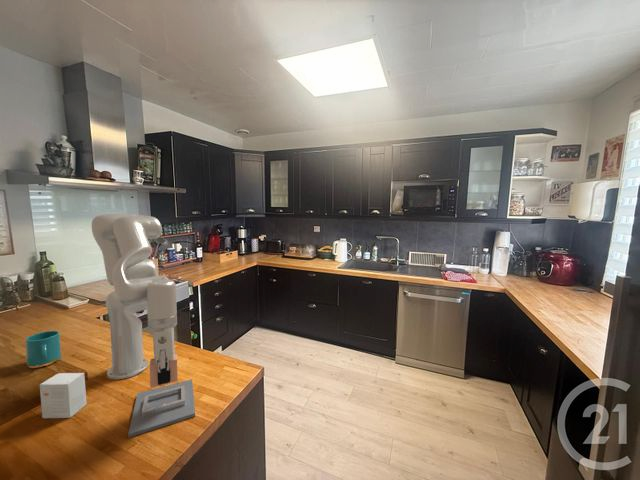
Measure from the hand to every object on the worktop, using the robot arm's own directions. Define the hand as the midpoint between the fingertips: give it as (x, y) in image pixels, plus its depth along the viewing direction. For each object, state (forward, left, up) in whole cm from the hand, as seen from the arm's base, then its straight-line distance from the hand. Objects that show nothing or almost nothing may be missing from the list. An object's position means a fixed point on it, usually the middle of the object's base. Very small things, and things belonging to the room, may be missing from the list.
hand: (164, 378), depth 78 cm
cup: (-47, -42, -9) cm, 64 cm away
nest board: (0, 0, -9) cm, 9 cm away
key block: (0, 0, -1) cm, 1 cm away
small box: (-11, -26, -9) cm, 30 cm away
